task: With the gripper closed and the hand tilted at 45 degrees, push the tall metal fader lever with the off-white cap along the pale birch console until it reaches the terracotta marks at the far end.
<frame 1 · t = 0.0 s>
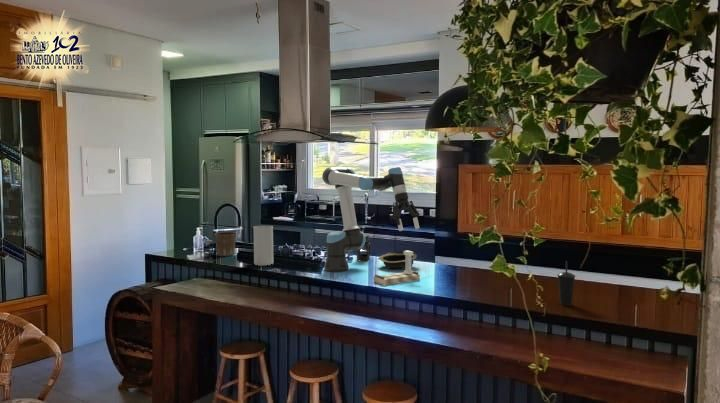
hand: (409, 229, 286), 28 cm above the worktop, tool tilted 20°, fingers open, 13 cm apart
drinking cup: (565, 305, 231), on the worktop
french press: (363, 260, 349), on the worktop
plant pot: (226, 255, 373), on the worktop
cylinder vase: (263, 264, 335), on the worktop
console: (396, 280, 282), on the worktop
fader: (408, 262, 286), point 10 cm above the worktop, slide at 0.0 cm
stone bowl: (397, 267, 322), on the worktop
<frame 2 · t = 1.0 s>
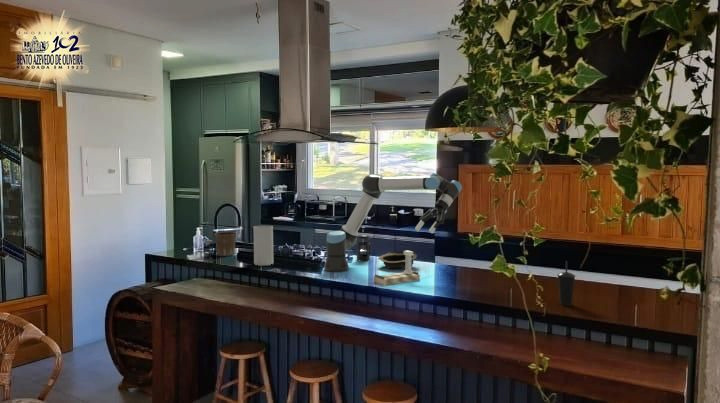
hand: (423, 231, 290), 27 cm above the worktop, tool tilted 45°, fingers open, 12 cm apart
nothing on the worktop moved.
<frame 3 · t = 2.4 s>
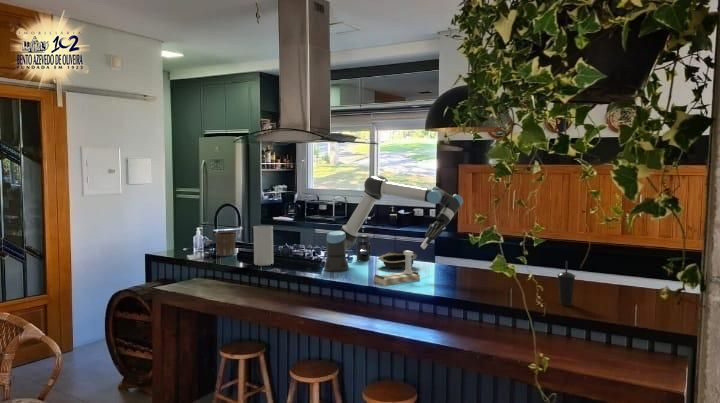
hand: (422, 247, 290), 17 cm above the worktop, tool tilted 45°, fingers closed
nothing on the worktop moved.
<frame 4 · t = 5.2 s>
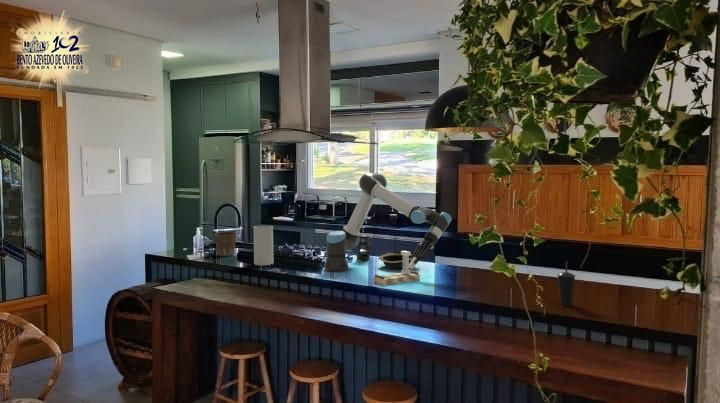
hand: (410, 267, 285), 7 cm above the worktop, tool tilted 45°, fingers closed
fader: (405, 262, 285), point 10 cm above the worktop, slide at 1.9 cm, touching gripper
everything else where it was.
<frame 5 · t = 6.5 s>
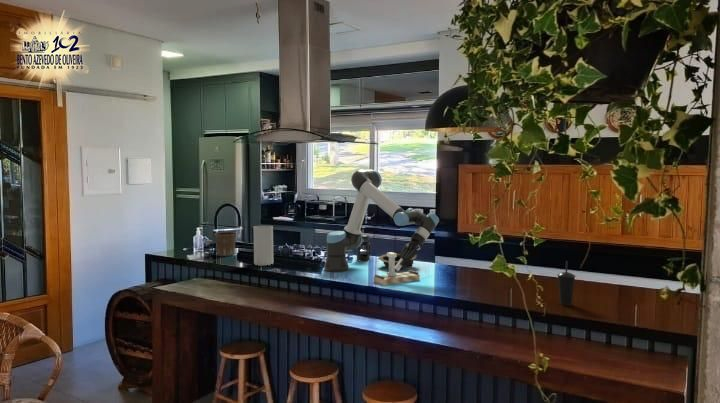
hand: (396, 269, 280), 7 cm above the worktop, tool tilted 45°, fingers closed
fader: (391, 264, 280), point 10 cm above the worktop, slide at 11.4 cm, touching gripper
everything else where it was.
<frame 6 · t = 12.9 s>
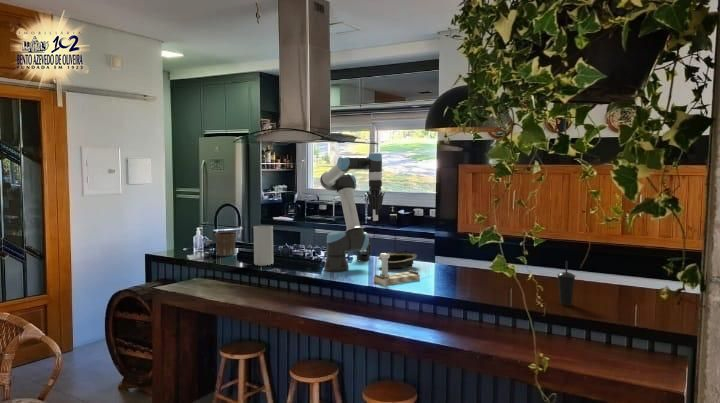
hand: (375, 220, 294), 32 cm above the worktop, tool pointing down, fingers closed
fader: (384, 265, 277), point 10 cm above the worktop, slide at 16.0 cm
everything else where it was.
at the end: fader slide at 16.0 cm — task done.
